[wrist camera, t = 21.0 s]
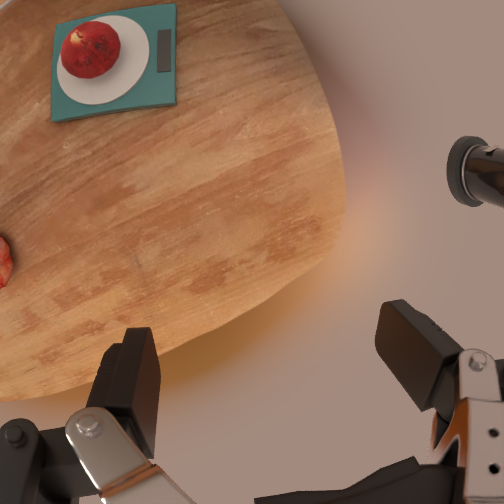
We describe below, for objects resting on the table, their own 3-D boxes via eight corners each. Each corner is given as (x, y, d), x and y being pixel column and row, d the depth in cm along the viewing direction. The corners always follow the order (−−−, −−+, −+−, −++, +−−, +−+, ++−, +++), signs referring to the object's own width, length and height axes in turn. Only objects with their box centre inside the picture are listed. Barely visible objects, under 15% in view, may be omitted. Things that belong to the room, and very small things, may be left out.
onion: (137, 45, 26) (122, 17, 18) (108, 92, 27) (83, 77, 19) (94, 28, 24) (70, 0, 16) (66, 74, 25) (33, 57, 18)
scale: (176, 11, 27) (175, 0, 25) (176, 105, 31) (174, 101, 28) (62, 30, 25) (53, 23, 22) (59, 123, 29) (48, 121, 26)
